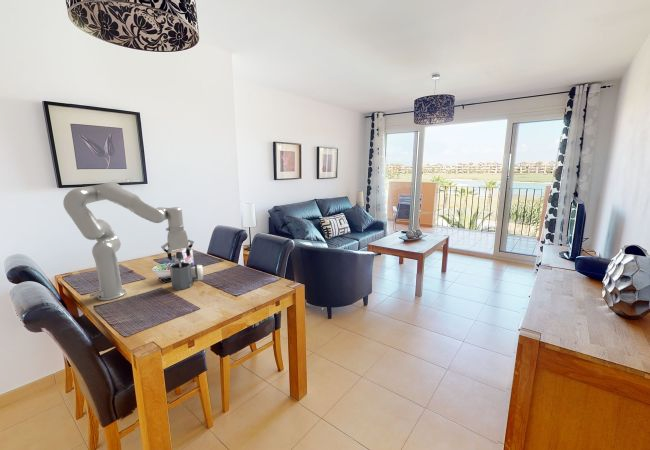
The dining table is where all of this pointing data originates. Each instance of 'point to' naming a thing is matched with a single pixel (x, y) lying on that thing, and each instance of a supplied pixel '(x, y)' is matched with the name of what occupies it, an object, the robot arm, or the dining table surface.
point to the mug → (199, 271)
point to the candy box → (186, 257)
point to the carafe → (182, 276)
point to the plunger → (179, 255)
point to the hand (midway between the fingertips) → (179, 257)
